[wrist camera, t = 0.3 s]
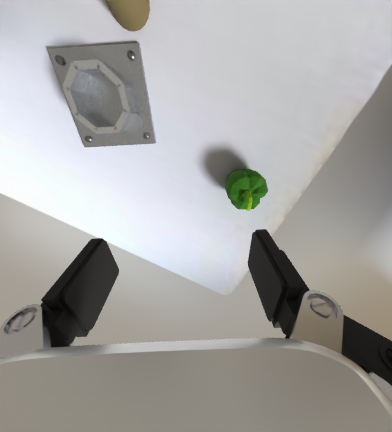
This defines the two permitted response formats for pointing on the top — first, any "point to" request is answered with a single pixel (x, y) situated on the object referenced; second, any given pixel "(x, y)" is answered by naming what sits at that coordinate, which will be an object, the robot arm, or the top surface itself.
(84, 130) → the duct collar
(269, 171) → the top surface
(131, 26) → the cork
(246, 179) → the bell pepper
